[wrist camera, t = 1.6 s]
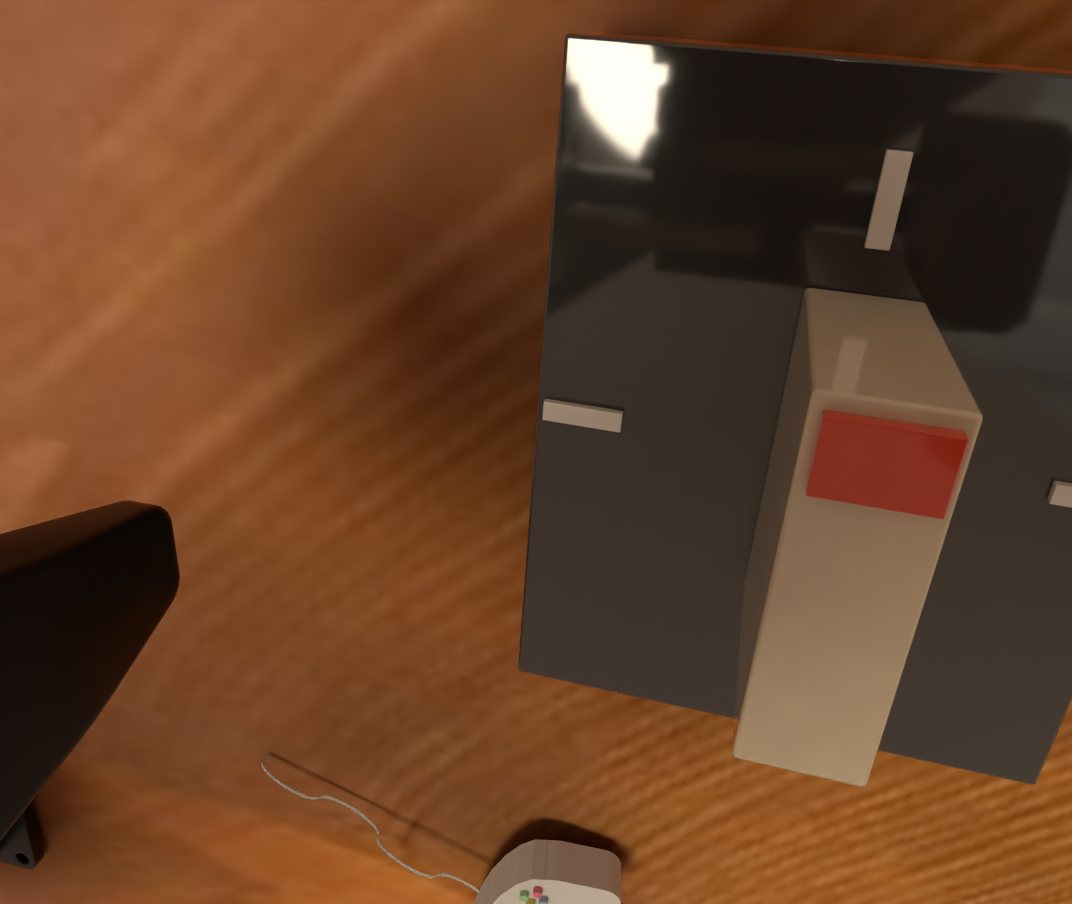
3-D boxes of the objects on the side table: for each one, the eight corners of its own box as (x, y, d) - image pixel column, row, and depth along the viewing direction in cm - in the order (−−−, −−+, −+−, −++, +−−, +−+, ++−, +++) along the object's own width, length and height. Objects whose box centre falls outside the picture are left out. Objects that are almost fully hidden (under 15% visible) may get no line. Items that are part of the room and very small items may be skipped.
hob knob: (846, 601, 16) (867, 804, 12) (744, 581, 16) (730, 771, 12) (927, 301, 13) (990, 424, 9) (804, 286, 14) (813, 398, 10)
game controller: (639, 982, 26) (625, 1074, 24) (283, 882, 29) (238, 957, 26) (661, 846, 24) (646, 935, 21) (267, 749, 26) (217, 819, 24)
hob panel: (1001, 683, 19) (1037, 793, 16) (550, 591, 21) (515, 676, 18) (1232, 82, 14) (1342, 96, 11) (601, 32, 16) (562, 33, 13)
